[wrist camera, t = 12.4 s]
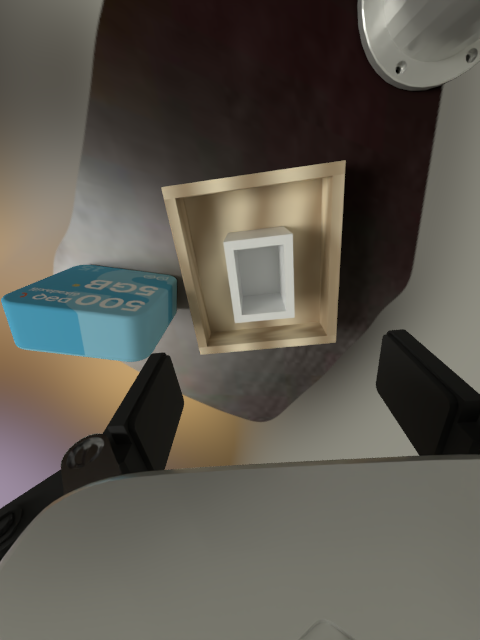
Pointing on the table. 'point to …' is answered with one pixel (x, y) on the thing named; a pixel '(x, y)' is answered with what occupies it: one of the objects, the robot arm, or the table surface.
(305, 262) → the wooden tray
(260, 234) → the white open box
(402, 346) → the robot arm
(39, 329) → the data package
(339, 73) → the table surface
